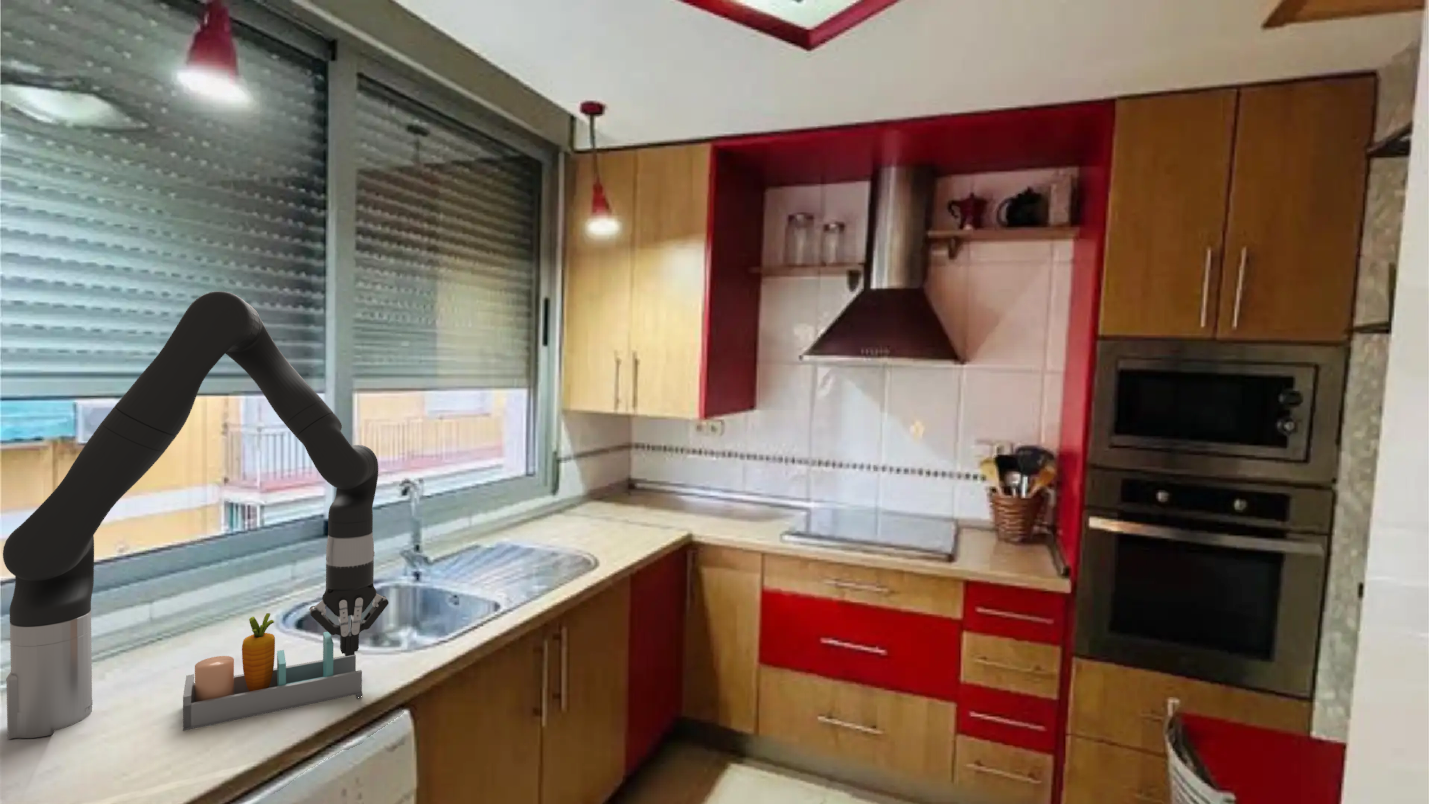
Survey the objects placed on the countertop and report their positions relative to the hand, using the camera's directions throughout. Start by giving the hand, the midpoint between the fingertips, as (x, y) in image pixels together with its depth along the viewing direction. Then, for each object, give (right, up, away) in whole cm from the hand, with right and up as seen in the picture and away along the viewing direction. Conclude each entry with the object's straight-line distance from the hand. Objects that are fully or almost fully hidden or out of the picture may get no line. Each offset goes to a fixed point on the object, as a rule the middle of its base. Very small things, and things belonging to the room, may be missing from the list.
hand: (349, 654), depth 125 cm
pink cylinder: (-16, -5, -11) cm, 20 cm away
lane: (-9, -6, -6) cm, 13 cm away
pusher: (-6, -5, -3) cm, 9 cm away
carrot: (-11, -6, -7) cm, 15 cm away
